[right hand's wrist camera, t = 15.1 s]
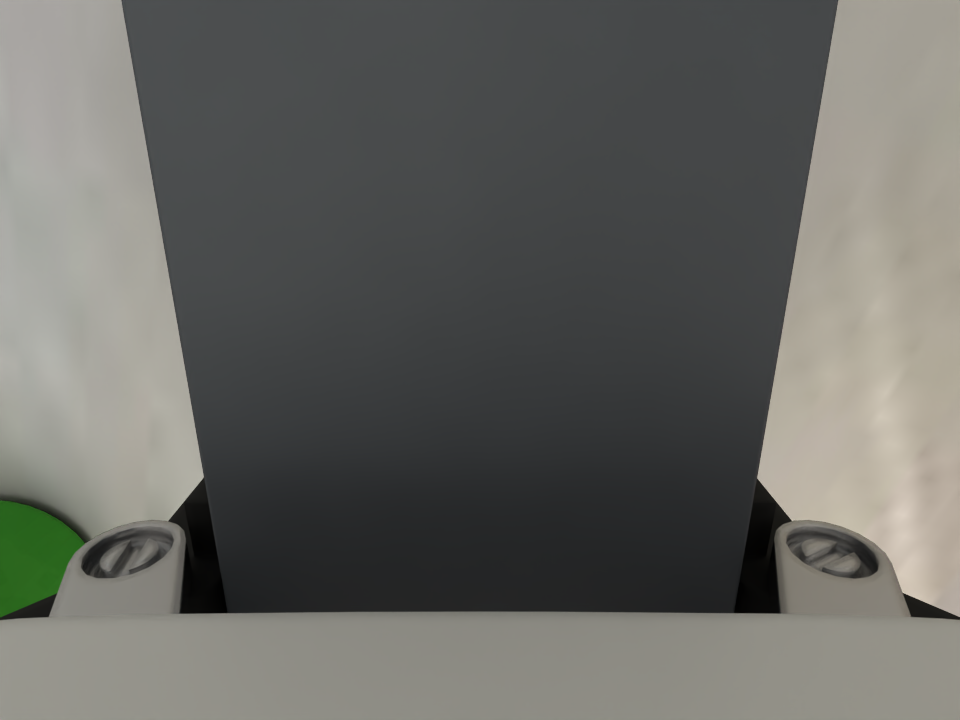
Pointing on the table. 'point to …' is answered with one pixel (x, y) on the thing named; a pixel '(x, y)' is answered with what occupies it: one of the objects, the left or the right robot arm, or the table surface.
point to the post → (480, 288)
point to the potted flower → (32, 555)
